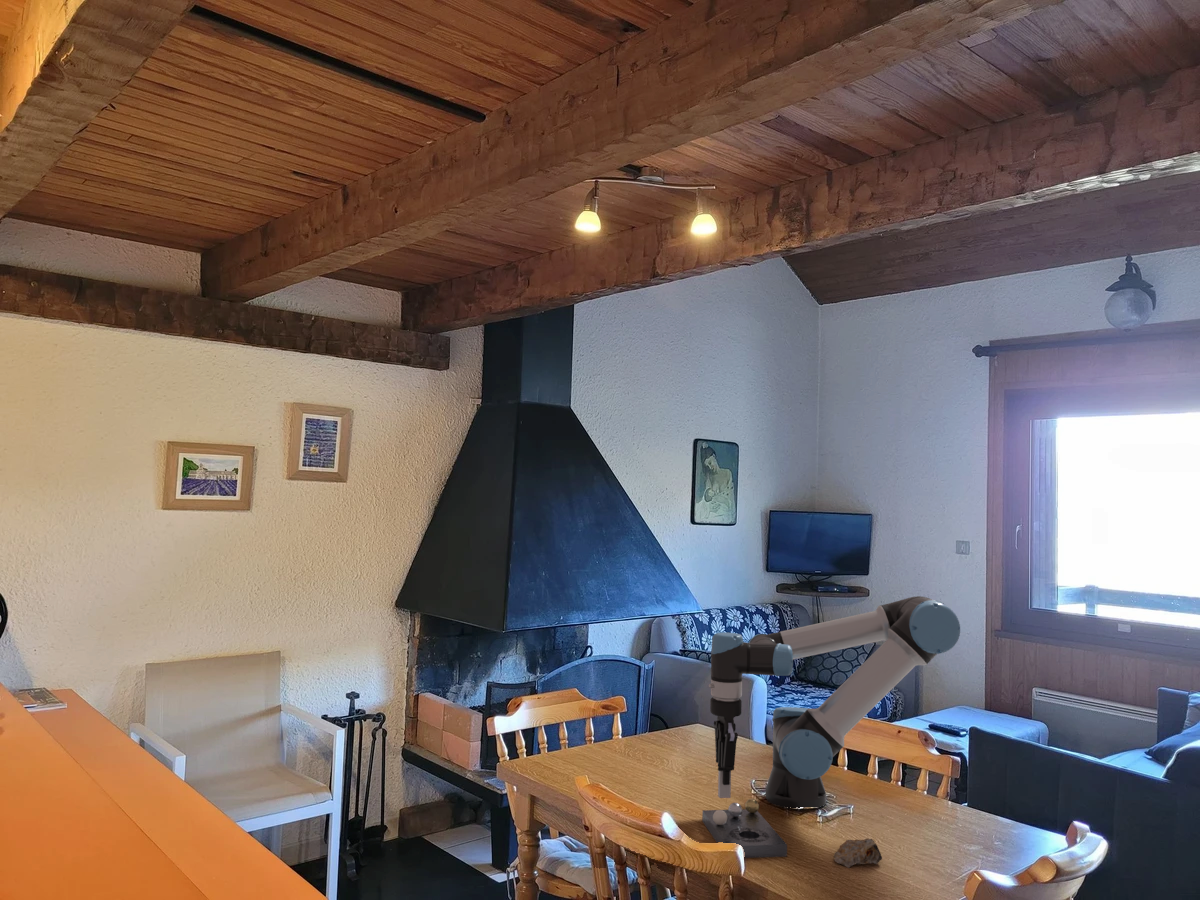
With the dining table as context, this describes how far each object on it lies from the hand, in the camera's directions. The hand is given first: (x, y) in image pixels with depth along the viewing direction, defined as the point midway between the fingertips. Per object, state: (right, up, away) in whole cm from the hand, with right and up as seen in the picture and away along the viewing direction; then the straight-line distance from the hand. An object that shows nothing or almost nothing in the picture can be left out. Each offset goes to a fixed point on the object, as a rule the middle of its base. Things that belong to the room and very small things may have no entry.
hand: (724, 796), depth 214 cm
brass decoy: (+6, 0, -6) cm, 8 cm away
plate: (+2, -3, -15) cm, 16 cm away
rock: (+25, -4, -27) cm, 37 cm away
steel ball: (+1, 0, -9) cm, 9 cm away
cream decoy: (-3, +1, -14) cm, 14 cm away
